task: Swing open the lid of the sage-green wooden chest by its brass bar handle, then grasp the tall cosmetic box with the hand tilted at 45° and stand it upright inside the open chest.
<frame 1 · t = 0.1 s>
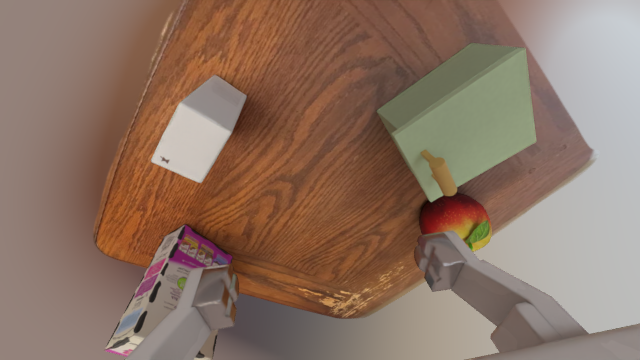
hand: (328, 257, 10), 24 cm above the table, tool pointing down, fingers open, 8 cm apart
chest: (436, 115, 33), on the table
lid: (478, 144, 26), point 9 cm above the table, hinge at 0.0°
cosmetic box: (221, 104, 28), on the table
fruit: (437, 206, 44), on the table
candy bar box: (201, 246, 41), on the table
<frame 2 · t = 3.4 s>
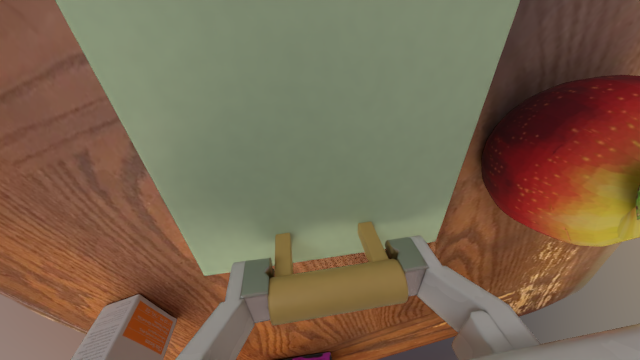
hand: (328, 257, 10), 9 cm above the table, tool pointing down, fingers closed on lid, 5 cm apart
lid: (327, 150, 7), point 9 cm above the table, hinge at 0.0°, touching gripper
cosmetic box: (144, 309, 25), on the table
fruit: (518, 134, 19), on the table
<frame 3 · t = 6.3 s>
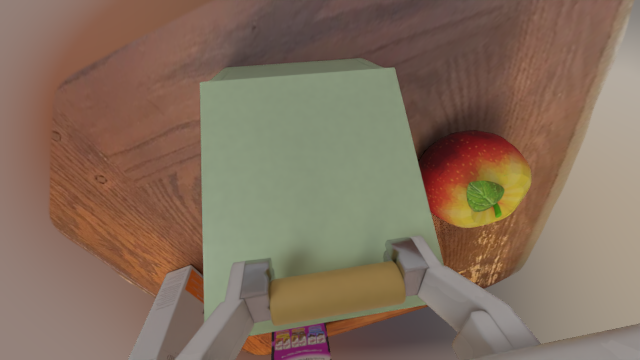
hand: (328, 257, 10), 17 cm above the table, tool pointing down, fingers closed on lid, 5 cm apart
chest: (301, 132, 25), on the table
lid: (317, 175, 12), point 14 cm above the table, hinge at 48.4°, touching gripper
cosmetic box: (191, 277, 36), on the table
fruit: (442, 158, 30), on the table
candy bar box: (299, 324, 50), on the table
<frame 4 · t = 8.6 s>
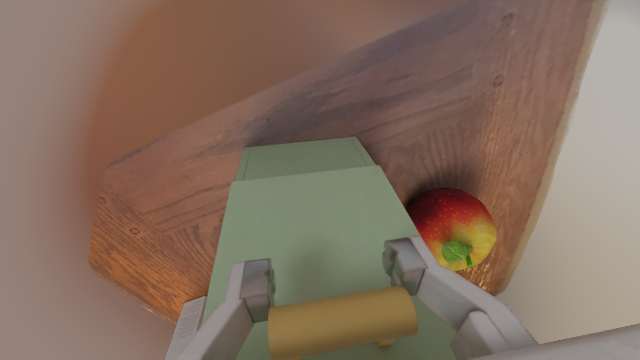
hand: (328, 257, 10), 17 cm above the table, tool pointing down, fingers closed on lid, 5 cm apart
chest: (305, 190, 30), on the table
lid: (320, 230, 13), point 15 cm above the table, hinge at 83.6°, touching gripper
cosmetic box: (205, 305, 40), on the table
fruit: (426, 205, 35), on the table
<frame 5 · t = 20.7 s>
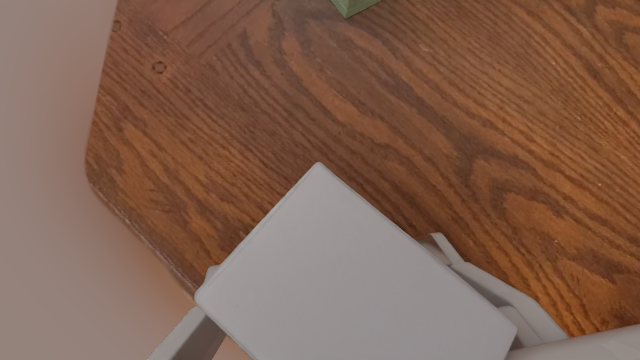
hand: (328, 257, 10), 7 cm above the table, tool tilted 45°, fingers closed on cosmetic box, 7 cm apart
cosmetic box: (320, 253, 17), on the table, touching gripper
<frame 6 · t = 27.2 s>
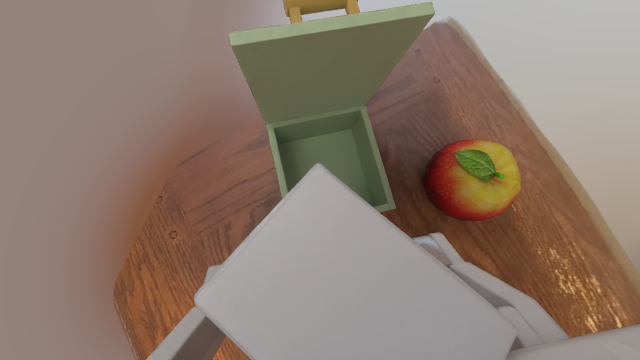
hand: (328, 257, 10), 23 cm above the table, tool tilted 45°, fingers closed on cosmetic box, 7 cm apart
chest: (324, 176, 34), on the table
lid: (318, 61, 21), point 15 cm above the table, hinge at 83.4°
cosmetic box: (320, 254, 17), point 16 cm above the table, touching gripper
fruit: (446, 185, 35), on the table
when the fingers open (7 cm above the table, at t = 33.7 s): cosmetic box stays where it is, resting on chest.
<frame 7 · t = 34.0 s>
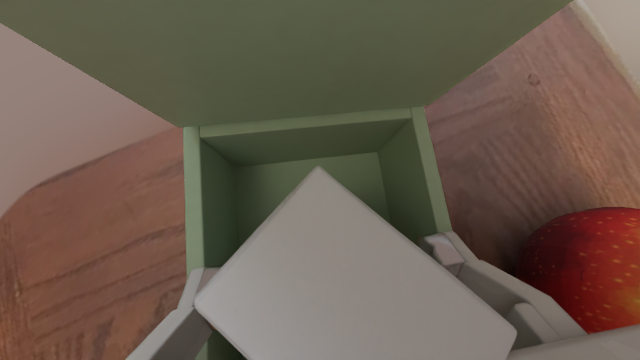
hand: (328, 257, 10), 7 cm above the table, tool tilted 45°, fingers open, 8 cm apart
chest: (317, 238, 17), on the table
cosmetic box: (319, 254, 17), point 1 cm above the table, touching chest
fruit: (549, 279, 18), on the table
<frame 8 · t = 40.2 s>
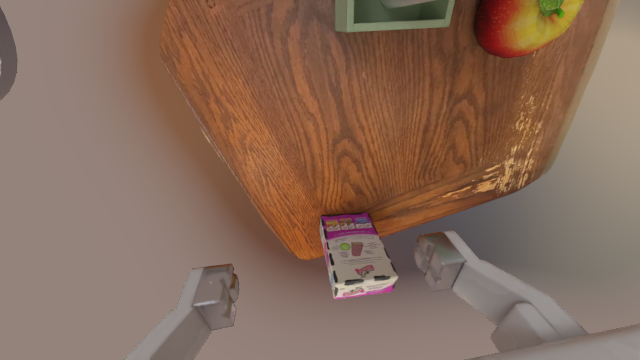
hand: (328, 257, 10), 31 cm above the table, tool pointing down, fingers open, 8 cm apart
fruit: (496, 12, 34), on the table
candy bar box: (343, 221, 53), on the table
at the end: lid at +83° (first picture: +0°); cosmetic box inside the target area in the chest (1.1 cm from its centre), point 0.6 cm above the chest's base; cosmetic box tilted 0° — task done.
